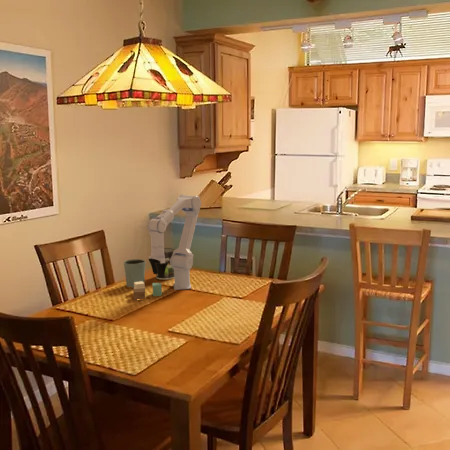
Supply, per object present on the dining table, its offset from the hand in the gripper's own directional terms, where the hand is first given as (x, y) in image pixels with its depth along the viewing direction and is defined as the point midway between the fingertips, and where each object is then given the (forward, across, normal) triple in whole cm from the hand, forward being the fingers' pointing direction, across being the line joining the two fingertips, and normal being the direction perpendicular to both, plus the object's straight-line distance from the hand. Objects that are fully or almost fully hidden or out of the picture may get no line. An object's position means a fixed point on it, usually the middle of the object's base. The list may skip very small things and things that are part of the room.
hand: (158, 275), depth 245 cm
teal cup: (+10, -23, -4) cm, 25 cm away
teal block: (+10, -4, 0) cm, 11 cm away
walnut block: (+10, -2, -8) cm, 13 cm away
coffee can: (+10, -30, +14) cm, 35 cm away
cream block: (+10, -10, -6) cm, 15 cm away
